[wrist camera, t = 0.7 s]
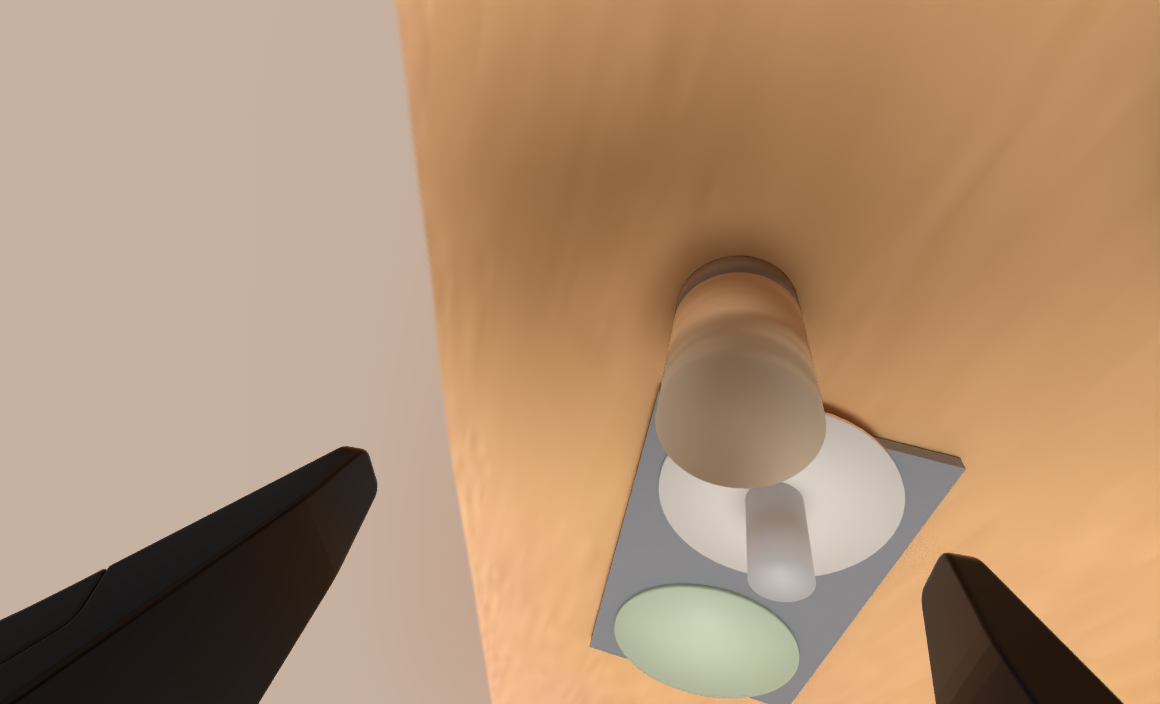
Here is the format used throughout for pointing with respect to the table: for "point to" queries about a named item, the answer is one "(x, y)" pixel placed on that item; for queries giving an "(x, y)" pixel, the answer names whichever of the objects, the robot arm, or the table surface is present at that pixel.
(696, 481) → the board
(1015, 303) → the table surface
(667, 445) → the sleeve
